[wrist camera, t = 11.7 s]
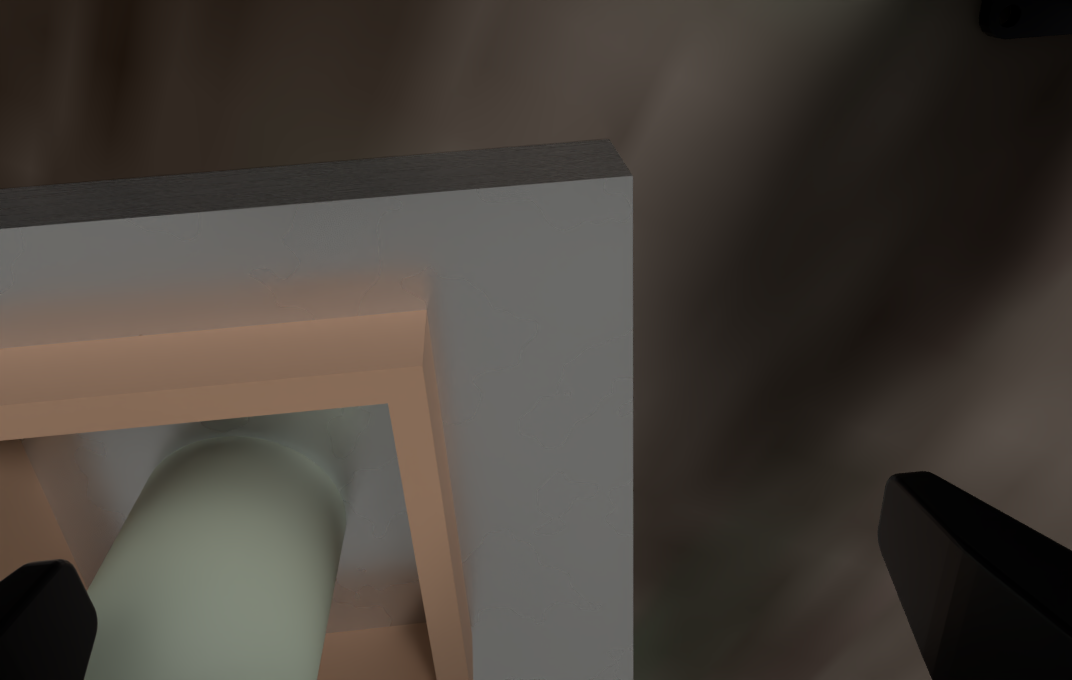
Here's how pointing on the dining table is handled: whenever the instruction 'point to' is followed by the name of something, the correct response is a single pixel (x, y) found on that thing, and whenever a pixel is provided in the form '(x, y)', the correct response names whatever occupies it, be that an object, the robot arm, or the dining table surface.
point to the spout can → (221, 568)
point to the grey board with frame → (351, 385)
